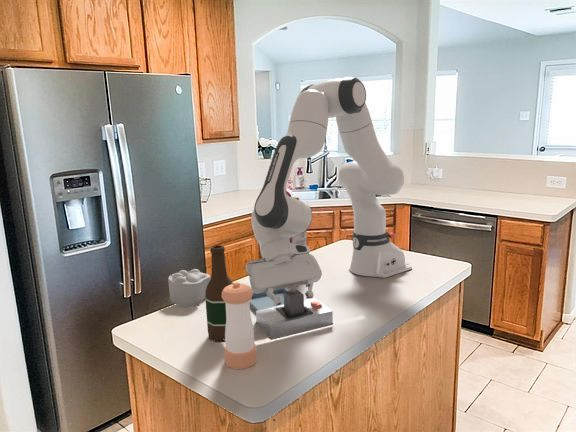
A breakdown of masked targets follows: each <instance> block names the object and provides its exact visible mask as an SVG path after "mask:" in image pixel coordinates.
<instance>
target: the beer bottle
mask: <svg viewBox="0 0 576 432" xmlns="http://www.w3.org/2000/svg"><path fill="white" fill-rule="evenodd" d="M225 251H226V248H225V246H224V245H220V244H218V245H213V246H211V247H210V251H209V252H210V253H211V255H210V257H211V260H210V261H211V275H210V281H209V283H208V285H207V288H206V291H205V299H204V300H205V311H206V324H207V325H206V326H207V334H208V339H210V340H211V341H213V342H215V343H226V341H225V328H226V302H224V300H223V299H222V297H221V295H222V291H223V289H224V288H225V287H227V286H229V285H231V284H233V283H234V282H233V281H232V279H231V278H230V277H229V274H228V271H227V265H226V256H225Z"/></svg>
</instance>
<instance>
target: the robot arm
mask: <svg viewBox="0 0 576 432" xmlns="http://www.w3.org/2000/svg"><path fill="white" fill-rule="evenodd" d="M366 100H367V90H366V87H365V85H364V84H363V82H362V81H361V80H360V79H359V78H357V77H353V76H347V77H346V76H345V77H343V78H333V79H328V80H325V81H321V82H319V83H316V84H310V85H307V86H305V87H304V88H303V89H301V91H300V92H299V94H298V96H297V98H296V99H295V103H294V105H293V108H292V112H291V115H290V117H289V118H290V119H289V124H288V129H287V130H286V134H285V136H283V137H282V138H281V139H280V140H279V141H278V143H277V144H276V147H275V150H274V152H273V155H272V158H271V162H270V165H269V168H268V170H267V174H266V177H265V180H264V184H263V186H262V188H261V191H260V192H259V194H258V196H257V198H256V201H255V203H254V207H253V208H254V209H253V211H252V212H251V220H250V221H251V227H252V231H253V234H254V237H255V239H256V241H257V243H258V245H259V252H260V255H261V257H262V258H259V259H254V260H250V261H248V262H247V263H246V264H245V272H246V274H247V275H248V276H249V277H248V278H249V279H248V280H249V284H250V285H249V286H250V288H251V289H252V292H254V293H255V294H259V293H264V292H266V293H267V296H268V297H269V298H271V299H272V300H273V302H274V305H275V306H277V305H281V303H282V302H281V300H280V296H279V297H277V296H276V295H275V294H274V293H273V291H274V290H279V289H284V288H288V289H289V288H291V284H296V287H299V286H303V285H305V287H306V288H307V290H306V292H305V293H304V294H305V295H304V296H305V297H306V300H309V299H314V292H313V285H314V283H317V282H319V281H320V279H321V278H322V276H323V272H322V269H321V267H320V265H319V263H318V261H317V259H316V257H315V256H314V255H313V254H311V253H310V252H311V249H310V246H309V245H307V244H306V245H299V244H294V243H290V241H289V239H290V238H292V237H295V236H297V235H299V234H301V233H303V232H305V231H306V232H307V230H308V229H309V227H310V226H311V224H312V221H313V210H312V208H311V206H310V205H309V204H308V203H306V202H304V201H302V200H300V199H299V200H297V199H295V198H292V197H293V196H290V195H288V194H287V185H288V182H289V179H290V176H291V173H292V168H293V166H294V164H295V163H296V162H297V160H299V159H309V158H313V157H315V156H317V154H319V153H320V152H321V151H322V150H323V148H324V145H325V142H326V138H327V132H328V125H329V119H330V118H331V119H332V118H335V119H336V120H335V121H336V125H337V129H338V133H339V135H340V138H341V142H342V146H343V148H344V151H345V153H346V154H347V155H348V156H349V157H350V158H352V160H353V161H349V162H345V163H343V165H342V166H341V167H340V169H339V172H338V182H339V184H340V185H341V187H343V189H344V190H345V192H346V193H347V195H348V198H349V200H350V203H351V207H352V211H353V231H352V247H353V248H352V257H351V262H350V266H349V269H348V270H349V271H350V272H351V273H353V274H355V275H358V276H362V277H376V278H390V277H391V276H396V275H398V274H401V273H404V272H406V271H410V270H412V265H411V264H410V263H409V262H407V261H406V256H405V253H404V251H403V250H402V249H401V248H400V247H398V246H397V245H395V244H394V243H393V242H392V241H391V240H390V239H392V240H394V239H395V238H396V234H395V233H394V232H388V231H386V230H387V229H386V228H387V225H386V224H387V223H386V222H387V221H386V220H387V212H386V210H385V208H384V206H383V205H382V204H381V203H380V201H378V198H377V196H392V195H397V194H398V193H399V192H400V191H401V189H402V188H403V187H404V186H403V185H404V183H405V174H404V172H403V170H402V168H401V167H400V166H398V165H397V164H396V163H394V162H393V161H392V160H391V159H390V158H389V157H388V155H387V154H386V152H385V151H384V149H383V147H382V146H381V144H380V143H379V141H378V138H377V135H376V132H375V131H376V130H375V128H374V125H373V121H372V117H371V115H370V112H369V109H368V106H367V103H366Z"/></svg>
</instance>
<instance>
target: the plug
mask: <svg viewBox="0 0 576 432" xmlns="http://www.w3.org/2000/svg"><path fill="white" fill-rule="evenodd" d="M304 294H305V293H302V292H301V291H300V290H299V289H297V286H296V284H291V287H290V291H287V292H284V312H285V313H286V314H287V315H288V316H292V315H297V314H301V313H304V300H305V295H304Z"/></svg>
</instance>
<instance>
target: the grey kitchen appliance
mask: <svg viewBox="0 0 576 432" xmlns="http://www.w3.org/2000/svg"><path fill="white" fill-rule="evenodd" d="M255 318H256V319H255V321H256V322H257V324H258V325H259V326H260V327H261V328H262V329H263V330H264V331H265V332H266V333H267V335H269V337H267V338H268V339H269V340H270V341H271V340H277V339H281V338H285V337H289V336H292V335H296V334H301V333H305V332H309V331H314V330H318V329H321V328H325V327H329V326H333V322H334V321H333V320H334V319H333V318H334V317H333V310H332V309H330V308H329V307H328V306H326V305H325V304H324V303H322V302H321V301H320V300H318V299H316V298H314V297H313V298H309V299H304V313H301V314H297V315H292V316H288V315H287V314H286V313H285V312H284V305H281V306H276V307H272V308H267V309H262V310H258V311H256V312H255Z"/></svg>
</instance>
